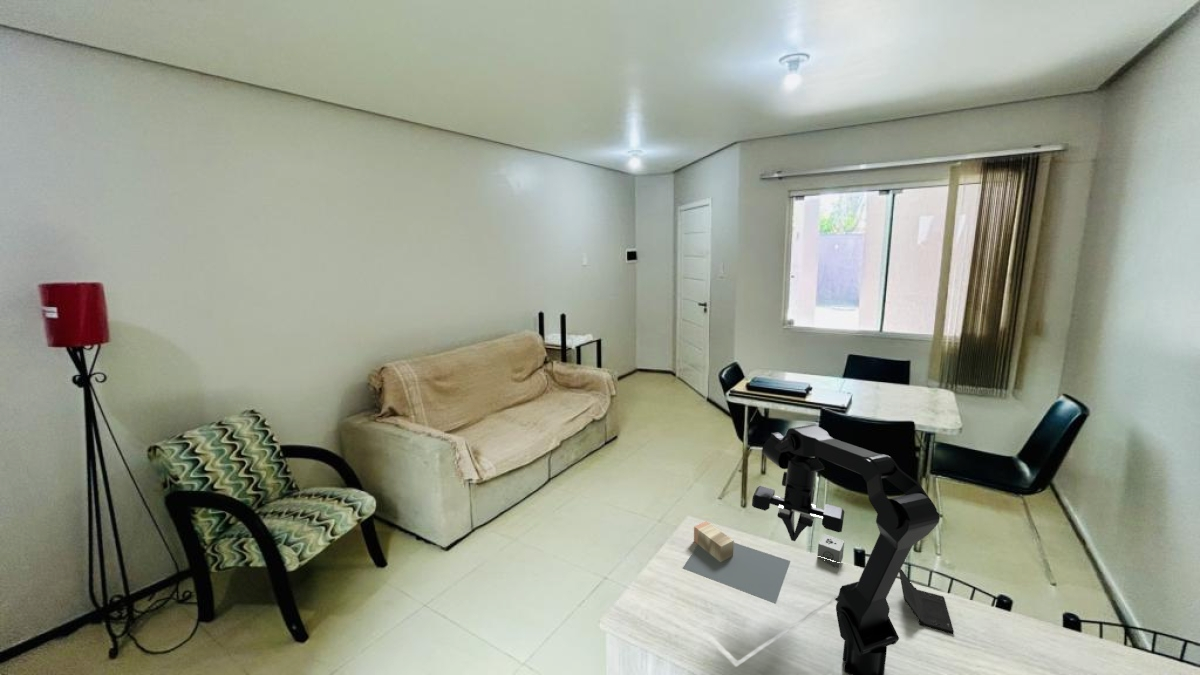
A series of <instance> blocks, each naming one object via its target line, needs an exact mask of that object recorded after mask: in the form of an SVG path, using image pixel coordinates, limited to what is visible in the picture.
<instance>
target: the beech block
mask: <svg viewBox="0 0 1200 675" xmlns="http://www.w3.org/2000/svg"><path fill="white" fill-rule="evenodd" d="M693 542H694V543H696V544H697V545H699V546H701V547H702V548H703V549H704V550H706V551H707V552H708V553H710V554H711V555H712V556H713V557H715V558H716V559H717V560H718V561H720V562H722V561H724V560H726V559H728V558H730V557H732V556H733V548H734V543H735V540H734V539H732V538H731V537H729V536H728V535H727V534H725V533H724V532H722V531H721V529H719V528H717V527H715V526H714V525H713V524H711V523H709V521H707V520H706V521H704V522H701V523H699V524H697V525H694V526H693Z"/></svg>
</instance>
